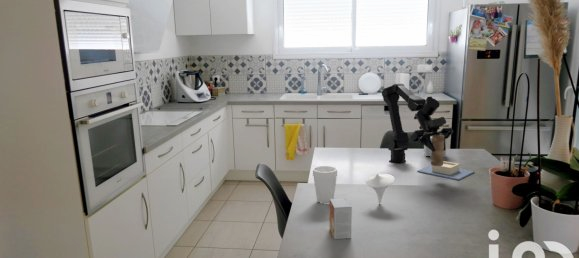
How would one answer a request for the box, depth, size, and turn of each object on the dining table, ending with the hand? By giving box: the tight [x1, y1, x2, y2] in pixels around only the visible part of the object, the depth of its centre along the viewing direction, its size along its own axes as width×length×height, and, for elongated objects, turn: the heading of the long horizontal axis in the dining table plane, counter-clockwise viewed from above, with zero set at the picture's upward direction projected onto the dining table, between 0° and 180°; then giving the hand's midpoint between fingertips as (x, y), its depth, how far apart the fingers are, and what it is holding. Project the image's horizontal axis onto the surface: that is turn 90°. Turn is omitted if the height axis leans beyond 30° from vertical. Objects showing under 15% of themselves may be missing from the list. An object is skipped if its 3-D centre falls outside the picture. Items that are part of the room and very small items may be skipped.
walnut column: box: [430, 135, 444, 166], centre depth 186 cm, size 5×5×13 cm
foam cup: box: [312, 165, 338, 203], centre depth 164 cm, size 10×9×13 cm
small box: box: [329, 197, 353, 240], centre depth 135 cm, size 8×6×10 cm
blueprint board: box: [417, 160, 475, 181], centre depth 199 cm, size 20×16×4 cm
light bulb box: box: [423, 137, 447, 158], centre depth 229 cm, size 11×7×11 cm, turn 84°
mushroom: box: [365, 173, 396, 204], centre depth 160 cm, size 10×11×12 cm
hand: (439, 150), depth 185 cm, fingers closed on walnut column, 5 cm apart
